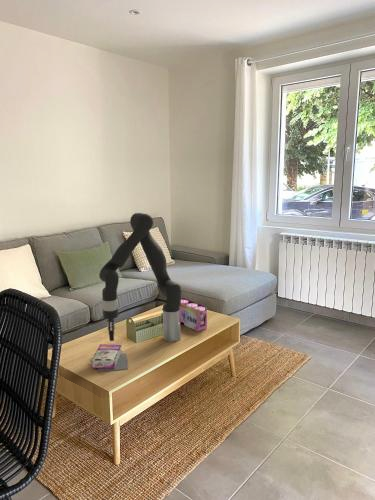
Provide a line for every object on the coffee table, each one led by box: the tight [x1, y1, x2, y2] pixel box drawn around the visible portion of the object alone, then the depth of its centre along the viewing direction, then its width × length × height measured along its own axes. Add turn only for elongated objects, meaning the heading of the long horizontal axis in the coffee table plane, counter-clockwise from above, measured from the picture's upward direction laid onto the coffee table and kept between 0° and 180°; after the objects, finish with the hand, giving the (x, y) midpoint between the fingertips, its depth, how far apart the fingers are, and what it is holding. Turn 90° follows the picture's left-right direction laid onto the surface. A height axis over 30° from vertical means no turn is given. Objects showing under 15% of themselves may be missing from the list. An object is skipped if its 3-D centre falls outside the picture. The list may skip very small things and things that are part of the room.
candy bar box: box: [91, 344, 122, 369], centre depth 193 cm, size 11×5×16 cm
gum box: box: [179, 297, 208, 332], centre depth 237 cm, size 24×8×14 cm, turn 39°
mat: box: [97, 352, 129, 373], centre depth 192 cm, size 14×16×1 cm
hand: (111, 340), depth 196 cm, fingers closed
